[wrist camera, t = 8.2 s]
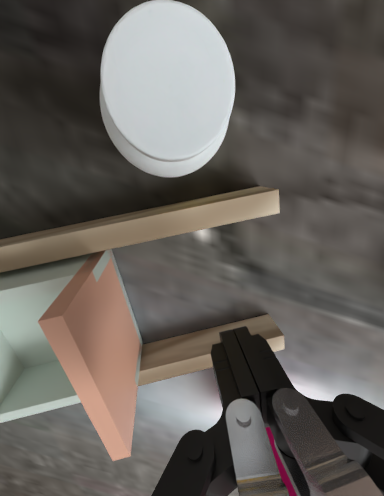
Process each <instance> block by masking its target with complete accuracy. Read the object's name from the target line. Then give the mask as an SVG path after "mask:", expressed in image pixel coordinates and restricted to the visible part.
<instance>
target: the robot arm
mask: <svg viewBox="0 0 384 496" xmlns="http://www.w3.org/2000/svg"><path fill="white" fill-rule="evenodd" d="M219 335H220V342H221V343H217V344H212V349H211V358H212V364H213V369H214V374H215V378H216V382H217V386H218V391H219V395H220V399H221V403H222V407H223V412H222V415H221V418H220V419H219V421H218V422H217V423H216V424H215V425H214V426H213V427H211V428H210V429H208V430H207V431H206V432H203V431H201V430H192V431H189V432H187V433H186V434H185V435H184V436H183V437H182V438H181V439H180V441H179V443H178V445H177V447H176V449H175V451H174V453H173V455H172V457H171V459H170V461H169V462H168V464H167V466H166V468H165V470H164V472H163V474H162V476H161V478H160V480H159V482H158V484H157V486H156V488H155V490H154V492H153V494H152V496H228V495H229V494H230V493H231V492H232V491H233V490H234V489H236V488H237V487H238V492H239V496H290V495H289V492H288V490H287V487H286V485H285V483H284V482H283V481H282V478H281V476H280V473H279V470H278V466H277V463H276V460H275V457H274V454H273V451H272V447H271V444H270V441H269V438H268V435H267V432H266V427H270V429H271V432H272V434H273V437H274V444H275V448H276V451H277V453H278V455H279V457H280V459H281V462H282V464H283V466H284V468H285V470H286V472H287V475H288V477H289V479H290V481H291V483H292V485H293V488H294V490H295V492H296V494H297V496H384V410H383V409H381V408H379V407H377V406H375V405H373V404H371V403H369V402H367V401H365V400H363V399H361V398H359V397H357V396H355V395H351V394H340V395H338V396H337V397H336V398H335V399H334V401H333V402H330V401H321V400H314V399H310V398H308V397H305V396H304V395H302V394H301V393H299V392H298V391H297V390H296V389H295V388H294V386H293V385H292V383H291V382H290V380H289V378H288V377H287V375H286V373H285V371H284V370H283V368H282V366H281V364H280V363H279V361H278V359H277V358H276V356H275V354H274V352H273V351H272V350H271V347H270V346H269V344H268V342H267V340H265V339H264V338H263V337H262V336H260V335H259V334H256V335H251V334H250V332H249V330H248V328H247V327H246V326H244V327H239V328H235V329H233V330H232V329H231V330H226V331H222V332H219Z"/></svg>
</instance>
